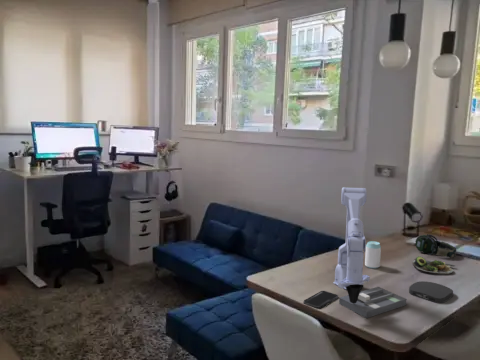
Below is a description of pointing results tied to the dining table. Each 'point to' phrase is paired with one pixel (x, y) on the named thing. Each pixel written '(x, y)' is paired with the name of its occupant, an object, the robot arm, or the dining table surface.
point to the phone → (320, 299)
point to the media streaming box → (431, 291)
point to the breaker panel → (374, 302)
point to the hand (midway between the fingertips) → (353, 302)
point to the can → (372, 254)
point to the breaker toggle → (363, 297)
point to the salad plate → (431, 266)
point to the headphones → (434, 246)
